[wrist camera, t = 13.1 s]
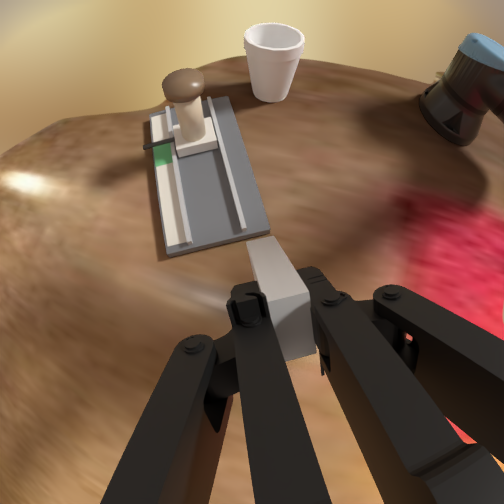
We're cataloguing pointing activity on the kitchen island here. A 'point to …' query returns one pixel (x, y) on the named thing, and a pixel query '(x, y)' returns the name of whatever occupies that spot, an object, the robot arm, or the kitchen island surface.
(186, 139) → the tuning slider
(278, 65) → the foam cup
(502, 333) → the kitchen island surface
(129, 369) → the kitchen island surface
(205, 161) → the board
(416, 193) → the kitchen island surface
